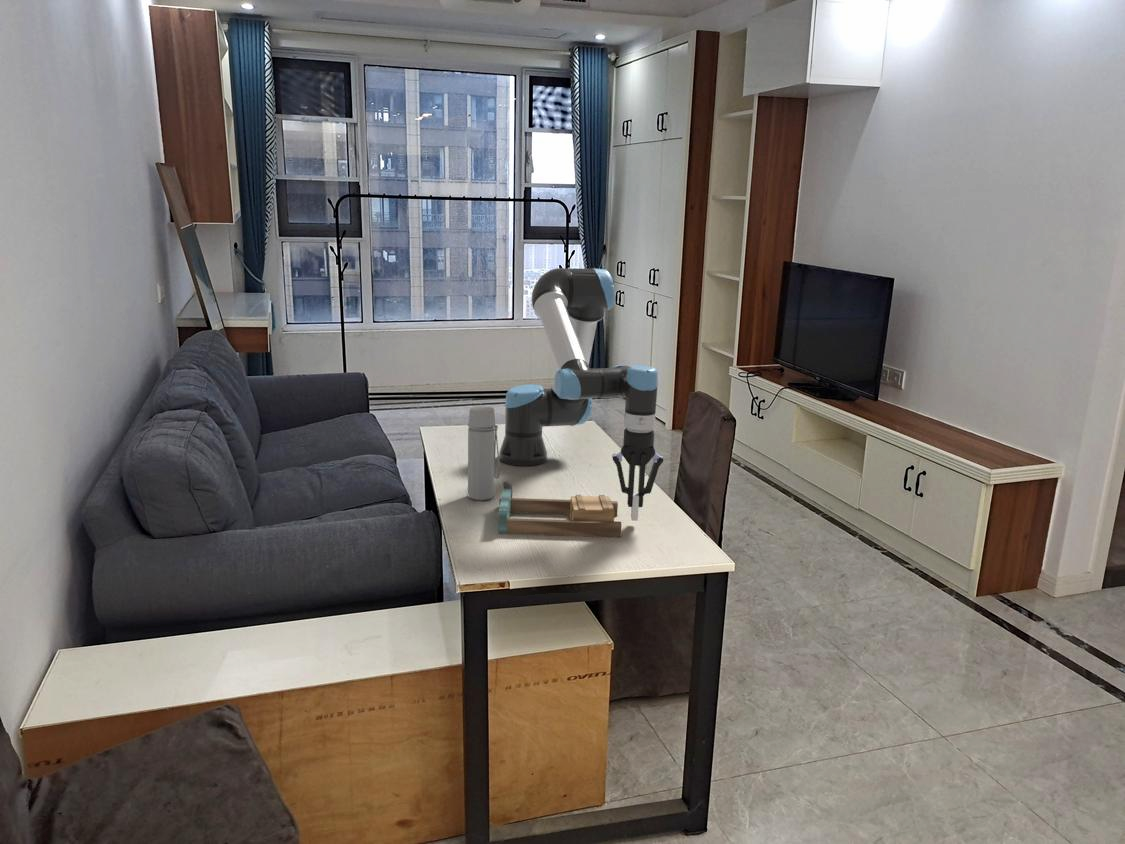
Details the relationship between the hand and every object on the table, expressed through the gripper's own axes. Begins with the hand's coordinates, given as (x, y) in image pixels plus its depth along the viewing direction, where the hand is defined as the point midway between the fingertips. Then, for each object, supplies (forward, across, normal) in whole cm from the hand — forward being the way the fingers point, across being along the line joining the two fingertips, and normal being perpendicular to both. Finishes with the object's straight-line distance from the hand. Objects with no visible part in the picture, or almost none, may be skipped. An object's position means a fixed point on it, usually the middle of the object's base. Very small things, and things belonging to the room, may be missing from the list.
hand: (634, 518), depth 211 cm
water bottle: (+2, -40, +18) cm, 44 cm away
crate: (+2, -11, 0) cm, 11 cm away
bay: (+2, -19, +2) cm, 20 cm away
